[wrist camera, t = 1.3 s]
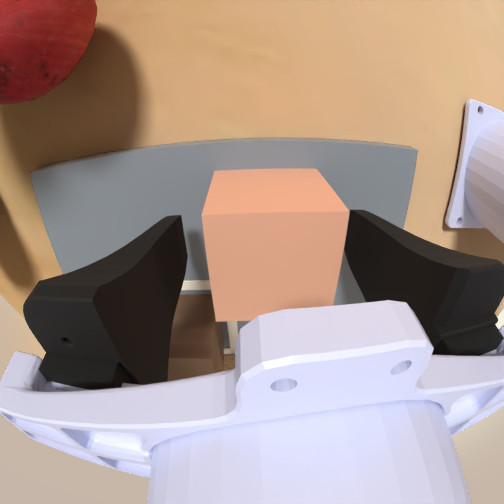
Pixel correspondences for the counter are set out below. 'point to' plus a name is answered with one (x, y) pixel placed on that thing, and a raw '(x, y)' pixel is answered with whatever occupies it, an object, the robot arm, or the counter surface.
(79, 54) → the onion
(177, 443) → the robot arm
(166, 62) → the counter surface
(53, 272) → the counter surface
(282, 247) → the terracotta block
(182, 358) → the walnut block
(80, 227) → the slate gray plate
